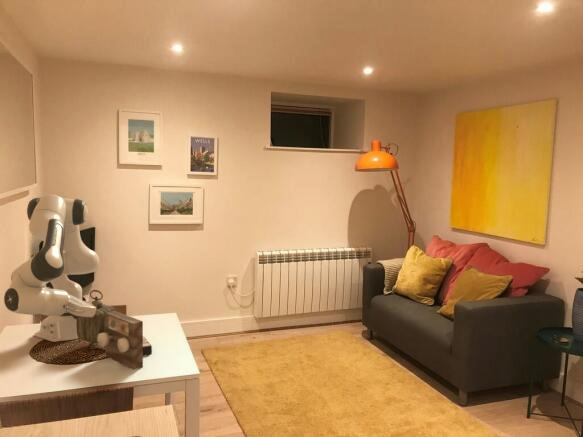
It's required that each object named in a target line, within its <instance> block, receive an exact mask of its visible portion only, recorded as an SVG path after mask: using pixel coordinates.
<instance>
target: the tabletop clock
mask: <svg viewBox="0 0 583 437" xmlns="http://www.w3.org/2000/svg"><path fill="white" fill-rule="evenodd" d="M93 292H96V293H99V294H100V295H101V296H100V298H99V297H98V296H94V297H93V296H92V293H93ZM89 296H90V298H91V299H93V301H91V303H92V304H93V306H95V307H96V312H95V315H94V316H93V317H83V316H77V323H76V325H77V335H78V338H77V339H79V340H81V341H85V342H88V343H89V344H90V345H92V346H90V350H91V349H94V350H95V349H96V348H95V344H98V341H97V336H98V334H100V333H104V332H105V313H107V312H111V311H116V308H115V307H114V306H111V305H107V304H103V302H102V301H101V300H102V299H103V296H104V295H103V293H102V292H101V291H100V290H98V289H93V290H91V291H90V292H89Z"/></svg>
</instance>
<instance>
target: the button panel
mask: <svg viewBox="0 0 583 437" xmlns="http://www.w3.org/2000/svg"><path fill="white" fill-rule="evenodd" d="M143 327H144V325H143V320H140V319H137V318H135V317H133V316H129V315H127V314H124V313H122V312H118V311H116V310H115V311H111V312H107V313H105V332H106V333H107V334H108V336H111V335H113V339H110V340H109V344H108V345H107V346H105V357H106V356H107V357H106V358H108V357H109V359H110V360H112V361H114V362H117V363H118V364H121V365H122V366H124V367H127V368H129V369H131V370H133V371H135V370H137V369H140V368H143V367H144V366H143V364H144V356H143V336H144V335H143V334H144V332H143V330H144V329H143ZM121 338H127V339H128V341H129V344H130V348H129V350H128V351H126V352H123V353H122V352H120V351H119V349H118V346H117V342H118V340H119V339H121Z"/></svg>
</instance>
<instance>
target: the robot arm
mask: <svg viewBox="0 0 583 437" xmlns="http://www.w3.org/2000/svg"><path fill="white" fill-rule="evenodd" d="M26 215H27V219H28V220H29V224H28V229H29V233H31V235H32V236H33V237H34V238H35V239H37V240H39V241H42V242H43V243H42V248H41V249H40V250H39V251H38V252H37V253H36V254H34V255H33V256H31V257H30V258H29V259H28V260H26V261H25V262H24V263H22V264H21V265H19V266H17V267H16V268H15V269H14V270H13V271H12V273H11V276H10V279H11V283H10V285H9V288H7V289H6V290H5V293H4V297H3V303H4V306H5V308H6V309H7V310H9V311H10V312H13V313H16V314H22V315H31V316H36V315H41V316H42V315H43V316H47V317H46V318H44V319H43V320H42V321H41V322H40V326H39V327H40V328H39V330H37V331H36V332H35V333H34V334H33V335H34V337H36V338H39V339H43V340H46V341H50V342H53V343H55V342H60V341H61V342H62V341H71V340H76V339H79V338H78V335H77V325H76V323H77V316H83V317H93V316H94V315H95V312H96V307H95V306H93V304H92V302H90V301H88V300H86V301H85V300H83V287H82V286H81V285H80V284H79V283H77V282H75V281H73V280H70V279H69V277H68V276H69V275H85V274H91V273H95V272H96V271H97V269H98V268H99V266H100V256H99V255H98V253H97V252H96V251H95V250H92V249H90V248H89V247H88V246H87V245H86V244H85V243H84V242H83V240H82V237H81V233H80V225H83V224H84V223H85V222H86V220H87V218H88V216H89V210H88V206H87V203H86V202H85V201H84V200H82V199H78V198H75V199H74V198H67V197H61V196H59V195H57V194H46V195H43V196H42V197H35V198H34V197H33V198H32V199H31V200H30V201H28V204H27V207H26ZM48 283H50V284H51V285H52V287H50V286H47V284H48Z"/></svg>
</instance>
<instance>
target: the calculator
mask: <svg viewBox="0 0 583 437" xmlns="http://www.w3.org/2000/svg"><path fill="white" fill-rule="evenodd" d="M152 347H153V346H152V344H151V343H150V342H149V341H148V339H147V338H146V337H145V336H144V335H143V357H144V356H149V355H152V352H153V351H152V350H153V348H152Z"/></svg>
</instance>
